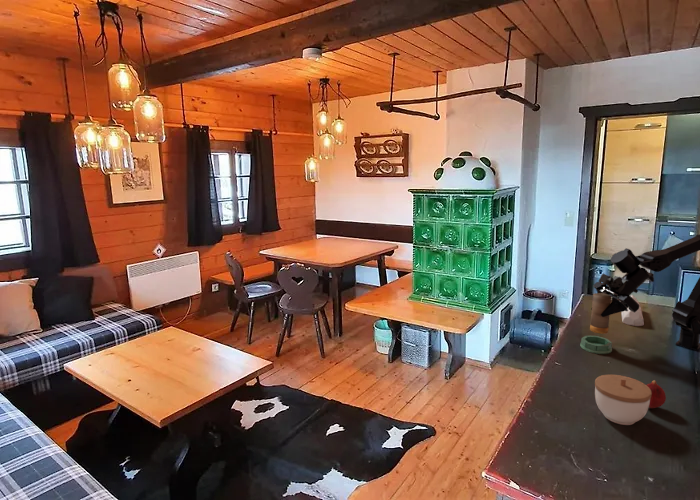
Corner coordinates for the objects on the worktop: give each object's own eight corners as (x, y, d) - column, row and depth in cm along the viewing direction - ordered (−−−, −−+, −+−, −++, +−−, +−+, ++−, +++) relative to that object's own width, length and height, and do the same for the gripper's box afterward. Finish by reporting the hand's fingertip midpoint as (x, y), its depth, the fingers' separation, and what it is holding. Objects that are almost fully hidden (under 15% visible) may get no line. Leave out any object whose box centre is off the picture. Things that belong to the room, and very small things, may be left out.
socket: (587, 340, 165) (588, 332, 165) (616, 348, 158) (617, 340, 157) (575, 347, 159) (575, 340, 159) (605, 356, 152) (605, 349, 151)
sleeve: (598, 326, 160) (601, 292, 157) (611, 332, 155) (615, 296, 152) (586, 329, 158) (589, 294, 156) (599, 334, 153) (602, 298, 150)
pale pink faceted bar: (616, 298, 199) (617, 315, 179) (633, 292, 196) (637, 309, 175) (624, 313, 199) (627, 332, 178) (642, 307, 195) (646, 326, 175)
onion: (668, 414, 117) (671, 387, 116) (644, 412, 119) (647, 385, 117) (657, 403, 123) (661, 376, 121) (635, 401, 124) (638, 375, 123)
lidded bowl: (583, 404, 123) (586, 367, 121) (629, 404, 123) (633, 367, 121) (607, 431, 111) (612, 391, 109) (659, 431, 111) (664, 391, 108)
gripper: (600, 260, 161) (568, 290, 163) (634, 273, 143) (597, 307, 145) (619, 280, 163) (587, 309, 165) (655, 295, 144) (618, 328, 146)
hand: (596, 313), depth 155 cm, fingers closed on sleeve, 5 cm apart
